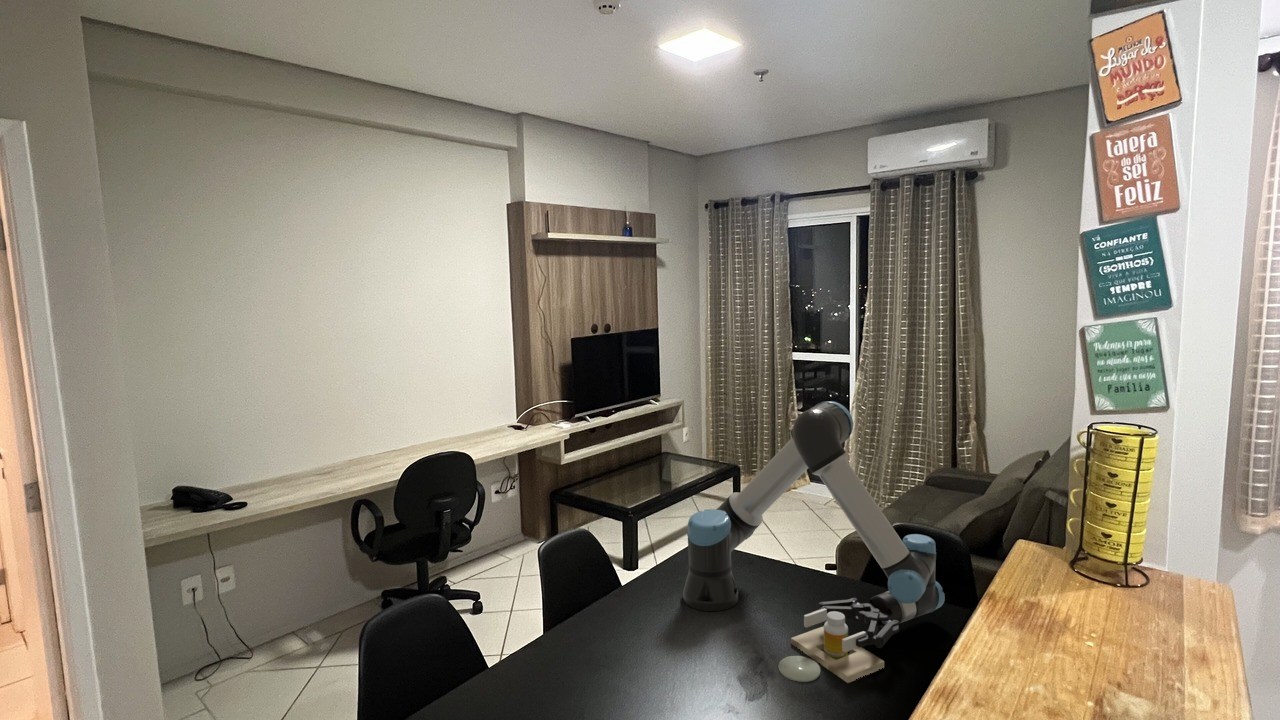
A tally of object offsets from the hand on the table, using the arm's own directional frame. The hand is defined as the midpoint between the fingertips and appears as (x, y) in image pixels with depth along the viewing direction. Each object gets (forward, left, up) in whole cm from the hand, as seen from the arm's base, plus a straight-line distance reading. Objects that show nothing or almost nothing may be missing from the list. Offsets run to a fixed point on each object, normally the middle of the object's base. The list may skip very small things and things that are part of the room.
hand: (823, 633), depth 145 cm
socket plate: (0, +4, -7) cm, 8 cm away
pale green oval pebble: (0, -7, -7) cm, 10 cm away
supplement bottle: (0, +4, -7) cm, 8 cm away
